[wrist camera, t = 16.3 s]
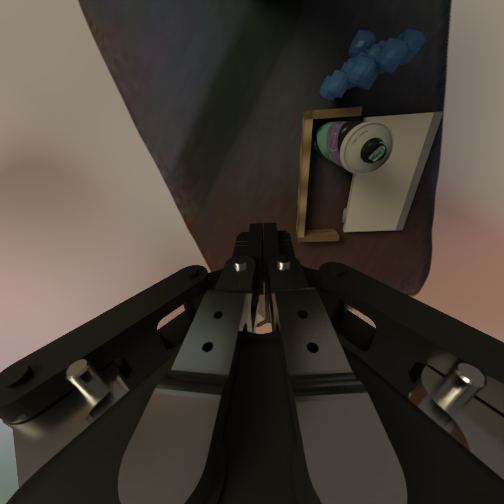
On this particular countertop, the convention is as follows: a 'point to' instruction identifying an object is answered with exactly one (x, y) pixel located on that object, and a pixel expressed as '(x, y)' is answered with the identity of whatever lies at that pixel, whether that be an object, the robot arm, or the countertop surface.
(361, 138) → the spray can
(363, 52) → the grapes
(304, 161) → the wooden u-shaped bracket
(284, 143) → the countertop surface
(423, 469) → the robot arm
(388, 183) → the cream thin rectangular board
